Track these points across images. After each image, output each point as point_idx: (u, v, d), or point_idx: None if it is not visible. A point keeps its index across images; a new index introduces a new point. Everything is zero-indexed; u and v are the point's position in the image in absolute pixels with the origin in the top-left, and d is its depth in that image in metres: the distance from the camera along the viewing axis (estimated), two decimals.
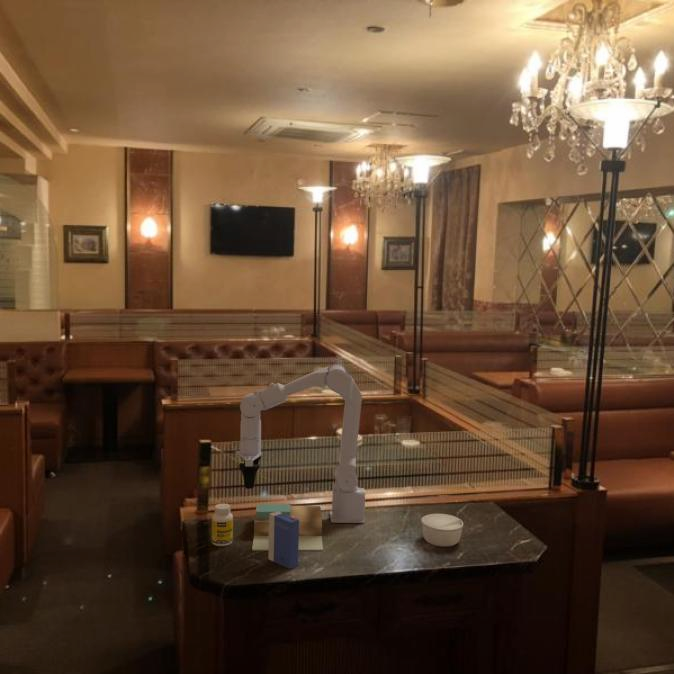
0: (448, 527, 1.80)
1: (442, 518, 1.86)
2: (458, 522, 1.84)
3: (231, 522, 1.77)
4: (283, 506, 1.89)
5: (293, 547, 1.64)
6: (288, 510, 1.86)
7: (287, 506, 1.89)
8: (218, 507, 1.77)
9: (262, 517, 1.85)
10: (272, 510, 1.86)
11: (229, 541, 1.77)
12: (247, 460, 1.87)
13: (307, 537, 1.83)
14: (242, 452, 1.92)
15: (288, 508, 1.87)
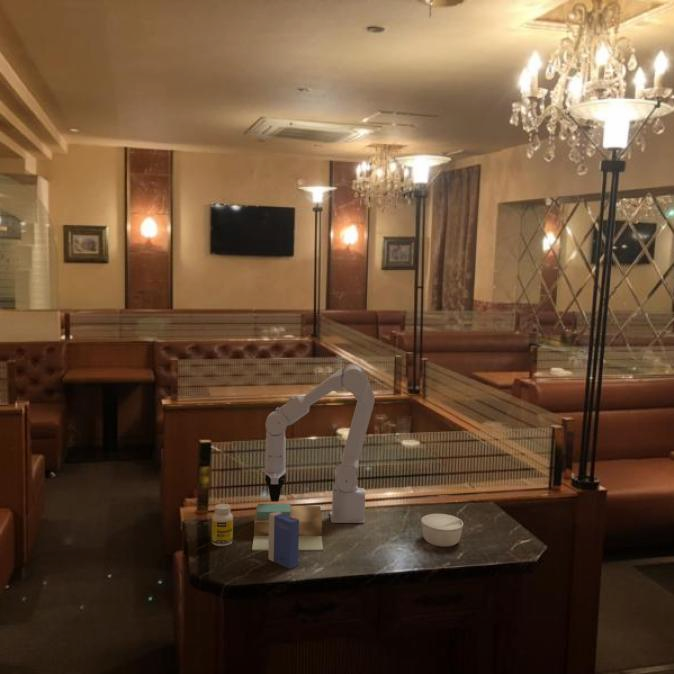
0: (448, 527, 1.80)
1: (442, 518, 1.86)
2: (458, 522, 1.84)
3: (231, 522, 1.77)
4: (283, 506, 1.89)
5: (293, 547, 1.64)
6: (288, 510, 1.86)
7: (287, 506, 1.89)
8: (218, 507, 1.77)
9: (262, 517, 1.85)
10: (272, 510, 1.86)
11: (229, 541, 1.77)
12: (273, 478, 1.88)
13: (307, 537, 1.83)
14: (267, 469, 1.93)
15: (288, 508, 1.87)
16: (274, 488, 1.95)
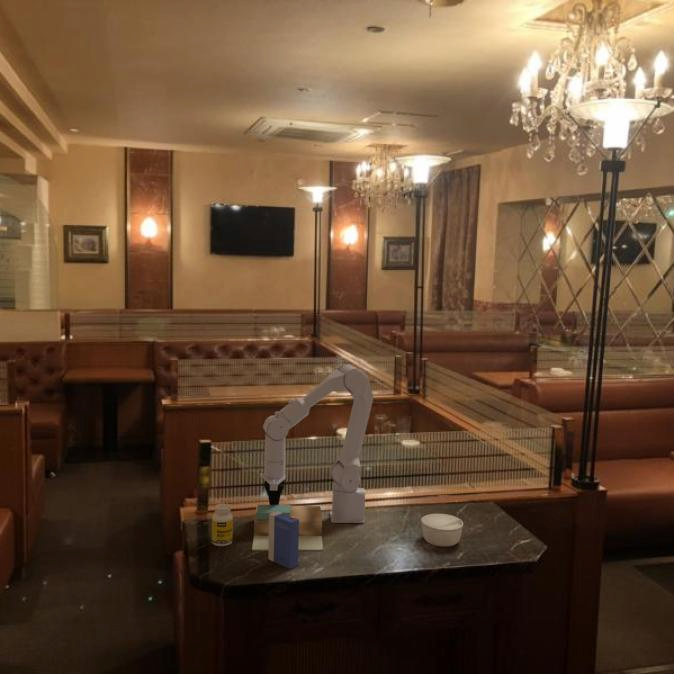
0: (448, 527, 1.80)
1: (442, 518, 1.86)
2: (458, 522, 1.84)
3: (231, 522, 1.77)
4: (283, 507, 1.88)
5: (293, 547, 1.64)
6: (288, 511, 1.85)
7: (287, 507, 1.88)
8: (218, 507, 1.77)
9: (262, 518, 1.84)
10: (272, 511, 1.85)
11: (229, 541, 1.77)
12: (272, 484, 1.83)
13: (307, 537, 1.83)
14: (266, 475, 1.88)
15: (288, 509, 1.87)
16: (273, 494, 1.90)
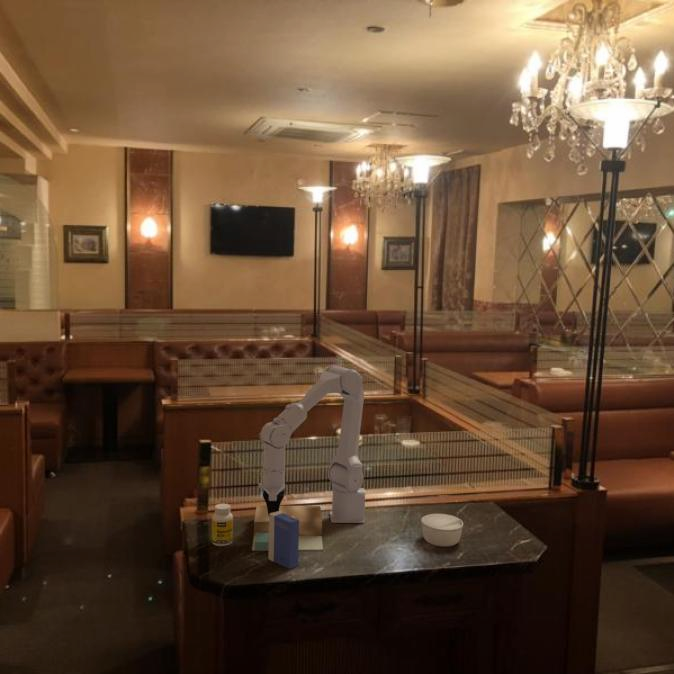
0: (448, 527, 1.80)
1: (442, 518, 1.86)
2: (458, 522, 1.84)
3: (231, 522, 1.77)
4: None
5: (293, 547, 1.64)
6: None
7: None
8: (218, 507, 1.77)
9: None
10: None
11: (229, 541, 1.77)
12: (271, 494, 1.75)
13: (307, 537, 1.83)
14: (265, 485, 1.80)
15: None
16: (272, 504, 1.82)
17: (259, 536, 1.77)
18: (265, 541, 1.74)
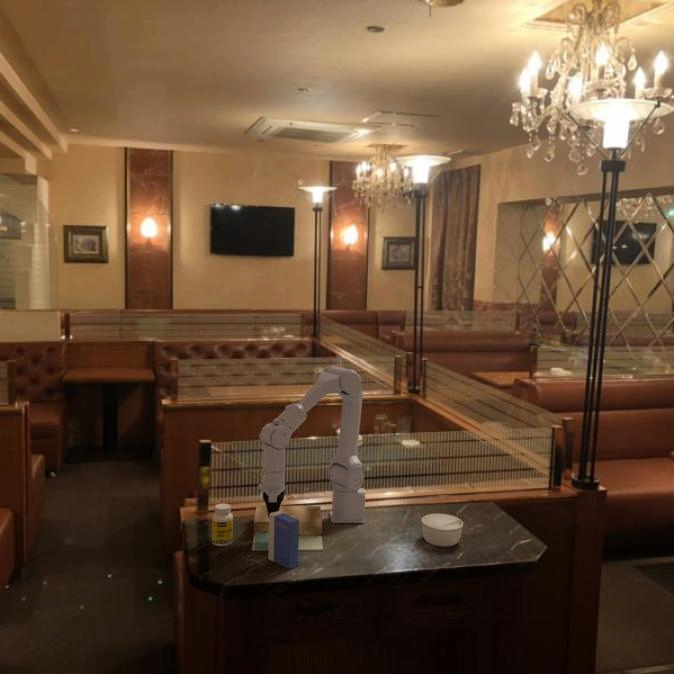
0: (448, 527, 1.80)
1: (442, 518, 1.86)
2: (458, 522, 1.84)
3: (231, 522, 1.77)
4: None
5: (293, 547, 1.64)
6: None
7: None
8: (218, 507, 1.77)
9: None
10: None
11: (229, 541, 1.77)
12: (271, 495, 1.74)
13: (307, 537, 1.83)
14: (265, 486, 1.79)
15: None
16: (272, 506, 1.81)
17: (259, 536, 1.77)
18: (265, 541, 1.74)
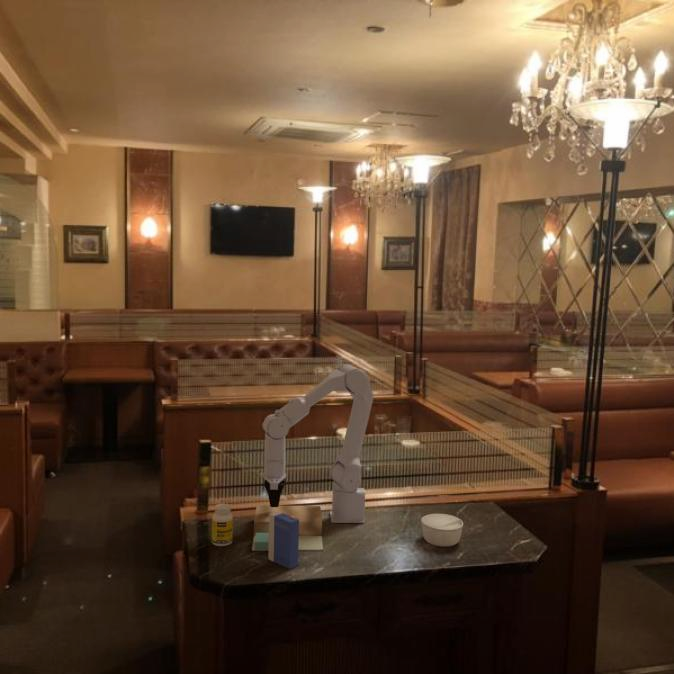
0: (448, 527, 1.80)
1: (442, 518, 1.86)
2: (458, 522, 1.84)
3: (231, 522, 1.77)
4: None
5: (293, 547, 1.64)
6: None
7: None
8: (218, 507, 1.77)
9: None
10: None
11: (229, 541, 1.77)
12: (272, 483, 1.82)
13: (307, 537, 1.83)
14: (266, 474, 1.87)
15: None
16: (274, 493, 1.89)
17: (259, 536, 1.77)
18: (265, 541, 1.74)
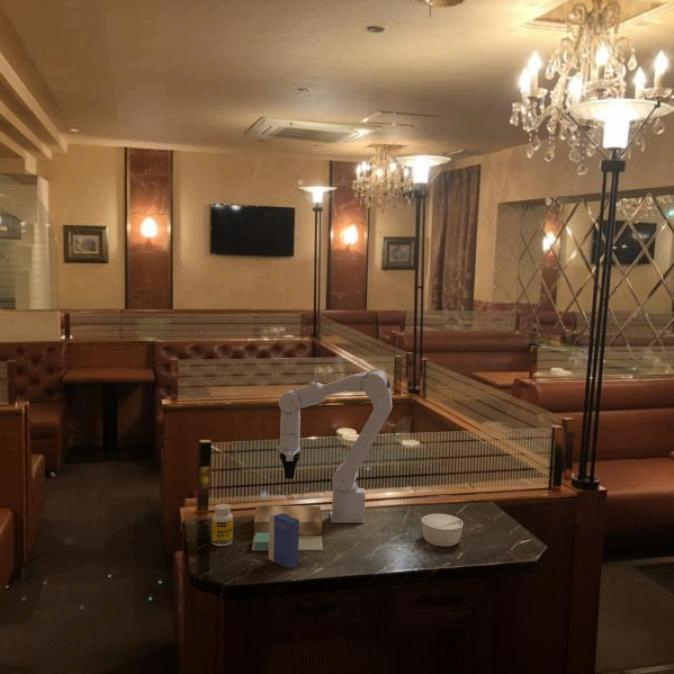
0: (448, 527, 1.80)
1: (442, 518, 1.86)
2: (458, 522, 1.84)
3: (231, 522, 1.77)
4: None
5: (293, 547, 1.64)
6: None
7: None
8: (218, 507, 1.77)
9: None
10: None
11: (229, 541, 1.77)
12: (288, 455, 1.91)
13: (307, 537, 1.83)
14: (282, 447, 1.96)
15: None
16: (289, 466, 1.98)
17: (259, 536, 1.77)
18: (265, 541, 1.74)
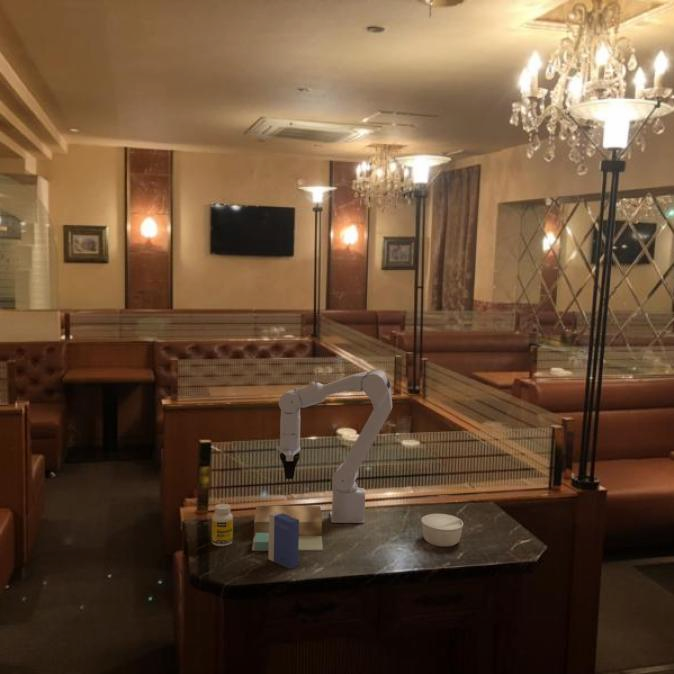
0: (448, 527, 1.80)
1: (442, 518, 1.86)
2: (458, 522, 1.84)
3: (231, 522, 1.77)
4: None
5: (293, 547, 1.64)
6: None
7: None
8: (218, 507, 1.77)
9: None
10: None
11: (229, 541, 1.77)
12: (288, 455, 1.91)
13: (307, 537, 1.83)
14: (282, 447, 1.96)
15: None
16: (289, 466, 1.98)
17: (259, 536, 1.77)
18: (265, 541, 1.74)
